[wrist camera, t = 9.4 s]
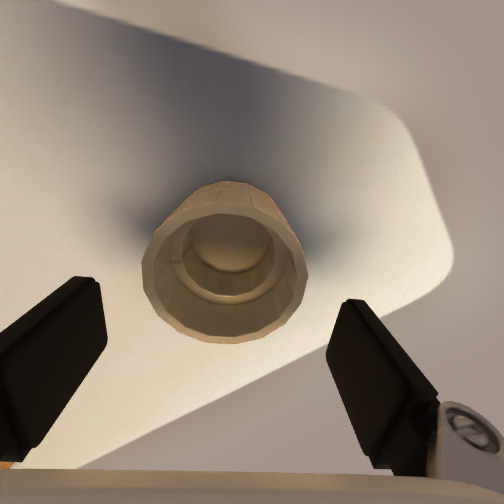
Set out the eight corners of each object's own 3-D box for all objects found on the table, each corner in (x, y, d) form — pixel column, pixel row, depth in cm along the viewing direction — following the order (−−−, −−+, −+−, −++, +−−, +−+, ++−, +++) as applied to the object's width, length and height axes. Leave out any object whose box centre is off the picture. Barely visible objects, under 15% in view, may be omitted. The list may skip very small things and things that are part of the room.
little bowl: (175, 172, 14) (135, 191, 9) (294, 187, 15) (325, 213, 10) (176, 277, 18) (146, 339, 12) (275, 286, 18) (290, 348, 13)
